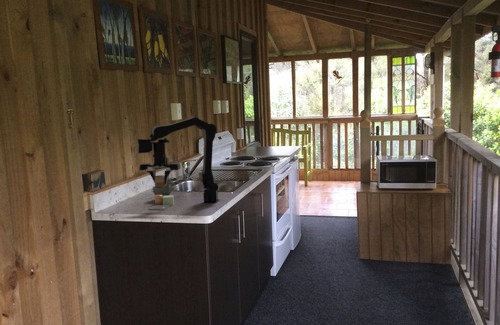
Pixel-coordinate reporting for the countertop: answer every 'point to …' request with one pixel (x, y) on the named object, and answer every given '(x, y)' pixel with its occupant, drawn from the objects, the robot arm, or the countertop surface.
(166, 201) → the sage block
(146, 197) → the countertop surface
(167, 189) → the mortar and pestle
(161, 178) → the walnut block
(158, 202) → the dome-topped tan cylinder
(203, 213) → the countertop surface
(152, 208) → the slate coaster
